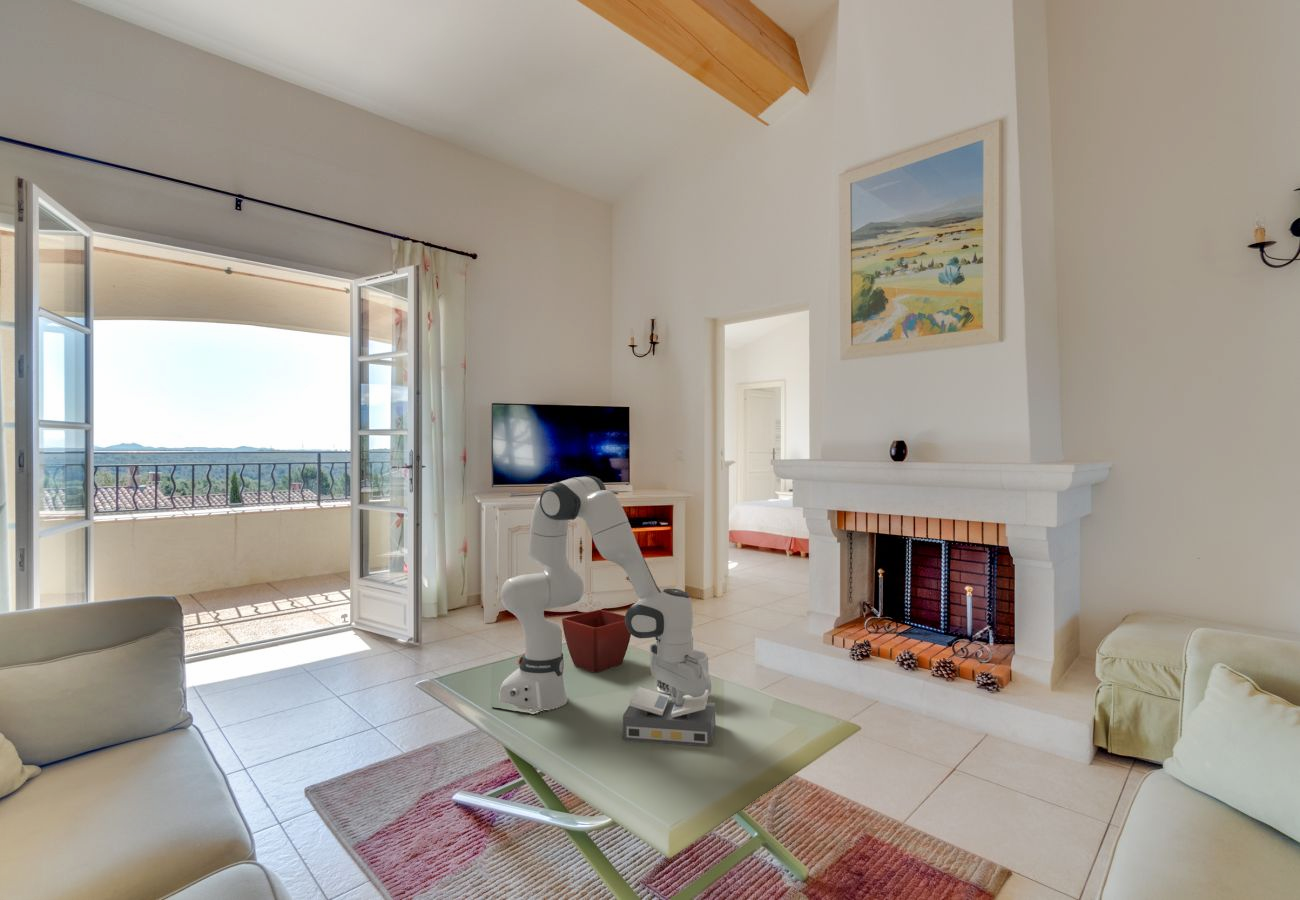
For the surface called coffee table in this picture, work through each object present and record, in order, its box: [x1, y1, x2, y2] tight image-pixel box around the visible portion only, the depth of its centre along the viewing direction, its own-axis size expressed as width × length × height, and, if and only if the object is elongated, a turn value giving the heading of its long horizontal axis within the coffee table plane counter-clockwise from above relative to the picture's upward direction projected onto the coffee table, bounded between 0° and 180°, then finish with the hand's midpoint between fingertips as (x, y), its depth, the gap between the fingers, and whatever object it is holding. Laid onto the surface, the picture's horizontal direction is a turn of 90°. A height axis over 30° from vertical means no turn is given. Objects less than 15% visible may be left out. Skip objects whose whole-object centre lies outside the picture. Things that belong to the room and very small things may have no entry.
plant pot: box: [561, 609, 632, 673], centre depth 216 cm, size 19×19×17 cm
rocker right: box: [671, 690, 710, 718], centre depth 159 cm, size 9×11×1 cm
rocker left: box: [628, 686, 670, 715], centre depth 161 cm, size 9×11×1 cm
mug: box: [684, 649, 712, 696], centre depth 182 cm, size 15×11×13 cm
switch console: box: [622, 699, 716, 748], centre depth 160 cm, size 23×13×7 cm, turn 79°
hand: (677, 703), depth 159 cm, fingers closed
